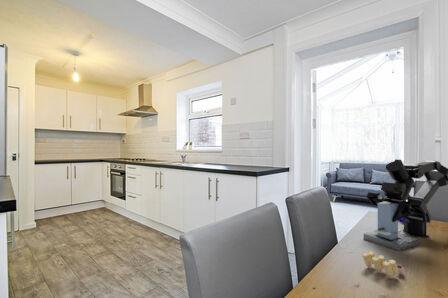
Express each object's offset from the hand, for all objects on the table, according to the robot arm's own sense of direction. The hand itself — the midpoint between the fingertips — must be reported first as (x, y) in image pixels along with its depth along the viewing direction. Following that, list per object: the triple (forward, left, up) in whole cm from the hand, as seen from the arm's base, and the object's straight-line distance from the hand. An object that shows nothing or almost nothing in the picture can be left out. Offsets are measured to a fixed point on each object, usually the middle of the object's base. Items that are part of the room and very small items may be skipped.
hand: (385, 219), depth 84 cm
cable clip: (-22, -35, -9) cm, 43 cm away
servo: (-1, -1, -7) cm, 7 cm away
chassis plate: (-3, -2, -9) cm, 9 cm away
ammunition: (+12, +23, -9) cm, 28 cm away
